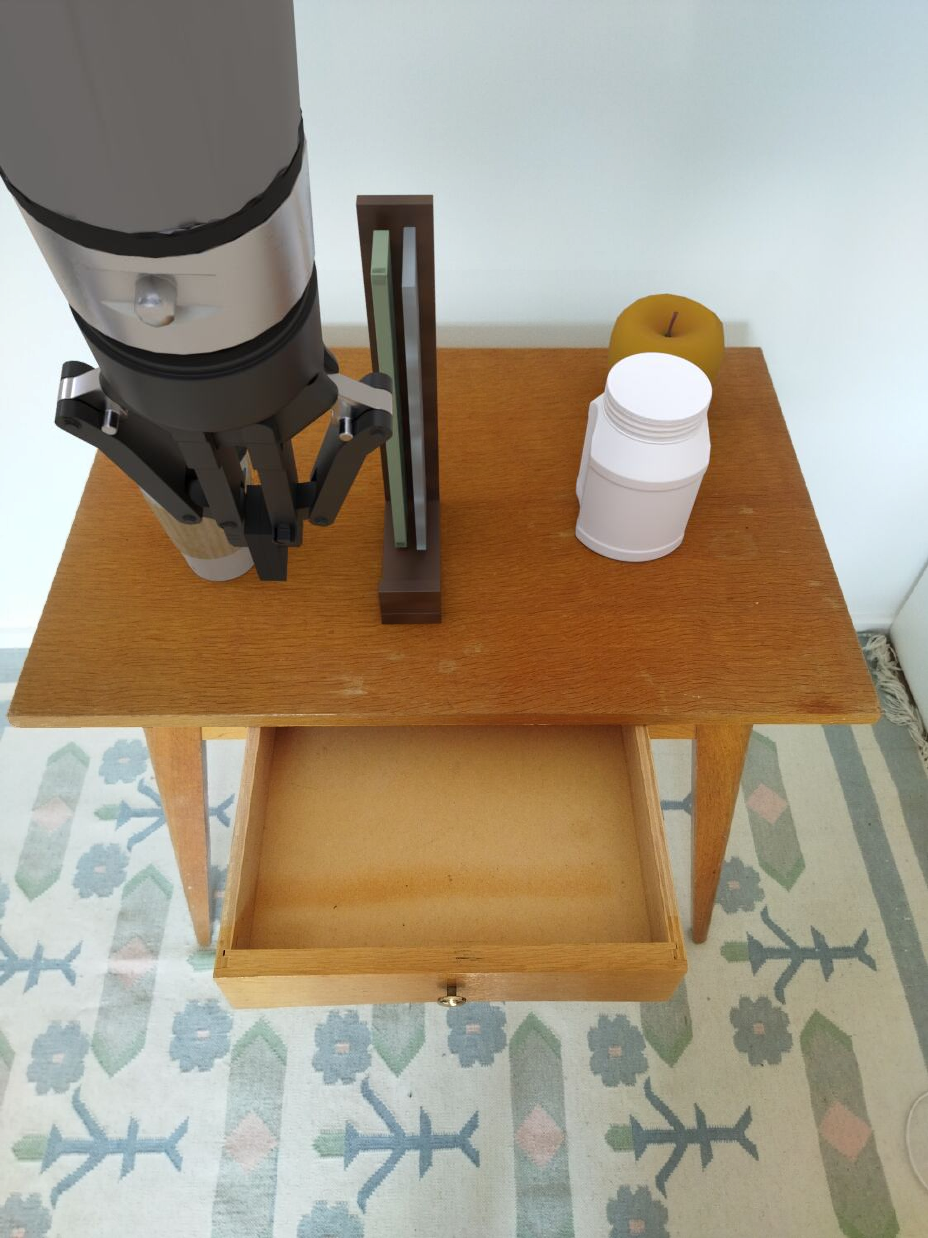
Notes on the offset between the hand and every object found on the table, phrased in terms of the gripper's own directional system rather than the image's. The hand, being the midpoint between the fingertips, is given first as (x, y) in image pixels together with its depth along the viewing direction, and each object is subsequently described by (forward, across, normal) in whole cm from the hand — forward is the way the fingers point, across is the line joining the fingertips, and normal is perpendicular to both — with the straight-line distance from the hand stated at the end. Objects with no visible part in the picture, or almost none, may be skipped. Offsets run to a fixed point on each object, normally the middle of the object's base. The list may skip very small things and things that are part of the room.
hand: (274, 558), depth 47 cm
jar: (+23, +29, +14) cm, 40 cm away
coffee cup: (+26, -8, +11) cm, 29 cm away
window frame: (+24, +9, +10) cm, 27 cm away
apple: (+27, +34, +27) cm, 51 cm away
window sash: (+22, +8, +12) cm, 27 cm away
